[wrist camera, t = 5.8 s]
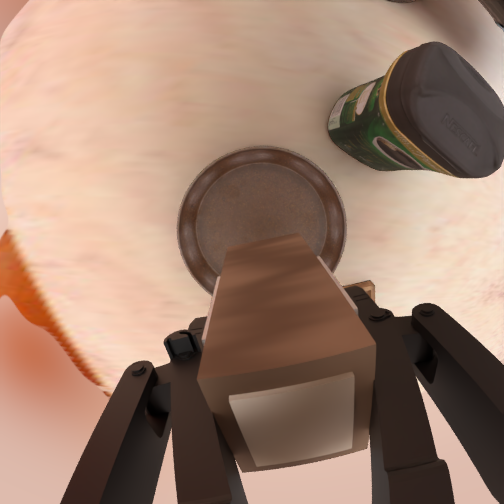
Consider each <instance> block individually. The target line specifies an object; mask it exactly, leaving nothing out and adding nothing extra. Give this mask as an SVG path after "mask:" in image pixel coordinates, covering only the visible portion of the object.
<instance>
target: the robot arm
mask: <svg viewBox="0 0 504 504" xmlns="http://www.w3.org/2000/svg"><path fill="white" fill-rule="evenodd" d="M389 1H394V2H402V3H406V2H412V1H415V0H389ZM479 1H480V3H481V4H482V5H483V6H484V7H485V9H486V10H487V11H488V12H489V14H490V15H491V16H492V17H493V19H494V21H495V23H496V24H497V25H498V26H499V27H500V28H501V29H502V30H503V31H504V0H479ZM317 258H318V259H319V261H320V262H321V264H322V265H323V266H324V268H325V269H326V271H327V272H328V273H329V275H330V276H331V278H332V279H333V281H334V282H335V283H336V285H337V286H338V288H339V289H340V291H341V292H342V293H343V295H344V296H345V298H346V299H347V301H348V302H349V304H350V305H351V307H352V308H353V309H354V311H355V312H356V314H357V315H358V317H359V318H360V320H361V321H362V323H363V324H364V326H365V327H366V329H367V330H368V332H369V333H370V335H371V336H372V338H373V339H374V341H375V343H376V365H375V380H374V382H373V395H372V407H371V417H370V426H369V435H370V448H371V470H372V504H455V502H454V496H453V491H452V484H451V479H450V474H449V469H448V466H447V463H446V462H445V461H444V460H442V459H439V458H438V457H437V454H436V449H435V445H434V440H433V436H432V432H431V428H430V424H429V420H428V417H427V413H426V409H425V406H424V402H423V399H422V395H421V392H420V388H419V385H418V382H417V379H416V377H417V378H418V380H419V381H420V383H421V384H422V385H423V387H424V388H425V390H426V391H427V392H428V394H429V395H430V397H431V398H432V400H433V401H434V403H435V404H436V406H437V407H438V409H439V410H440V412H441V413H442V415H443V416H444V418H445V419H446V421H447V422H448V424H449V425H450V427H451V428H452V430H453V432H454V433H455V435H456V436H457V438H458V439H459V441H460V443H461V444H462V446H463V447H464V449H465V451H466V452H467V454H468V456H469V457H470V459H471V460H472V462H473V464H474V465H475V467H476V469H477V470H478V472H479V474H480V476H481V477H482V479H483V481H484V483H485V484H486V486H487V487H488V489H489V491H490V492H491V494H492V495H493V496H494V498H495V499H496V500H497V501H498V502H499V503H500V504H504V365H503V364H502V363H501V362H500V361H499V360H498V359H497V358H496V357H495V356H494V355H493V354H492V353H491V352H490V351H489V350H488V349H486V348H485V347H484V346H483V345H482V344H481V343H480V342H479V341H478V340H477V339H476V338H475V337H473V336H472V335H471V334H470V333H469V332H468V331H467V330H466V329H465V328H463V327H462V326H461V325H460V324H459V323H458V322H457V321H455V320H454V319H453V318H452V317H451V316H450V315H448V314H447V313H446V312H445V311H444V310H443V309H441V308H440V307H439V306H437V305H435V304H431V303H423V304H419V305H417V306H415V307H414V308H413V309H412V316H404V317H394V315H393V313H392V312H391V311H389V310H387V309H383V308H379V307H378V306H377V305H376V303H375V302H374V301H373V300H372V299H371V298H370V296H369V295H368V294H367V293H366V292H365V290H364V289H363V288H361V287H358V286H356V285H354V286H350V287H346V288H343V287H342V286H341V284H340V283H339V282H338V280H337V279H336V277H335V276H334V275H333V273H332V272H331V271H330V269H329V268H328V267H327V265H326V264H325V263H324V261H323V260H322V259H321V257H320V256H317ZM219 280H220V276H219V277H217V281H216V285H215V289H214V292H213V296H212V300H211V304H210V308H209V312H208V316H207V317H200V318H195V319H194V320H193V321H192V323H191V324H190V325H189V328H188V330H179V331H176V332H174V333H172V334H170V335H168V336H167V337H166V338H165V340H164V345H165V347H166V350H167V352H168V354H169V357H170V359H171V361H170V363H168V364H166V365H163V366H159V367H156V368H154V366H153V364H152V363H151V362H149V361H138V362H136V363H133V364H132V365H130V366H129V367H128V368H127V369H126V370H125V372H124V374H123V375H122V377H121V379H120V381H119V383H118V385H117V387H116V389H115V390H114V392H113V394H112V396H111V398H110V400H109V402H108V404H107V406H106V408H105V410H104V411H103V413H102V416H101V417H100V419H99V421H98V423H97V425H96V428H95V429H94V431H93V433H92V435H91V438H90V439H89V442H88V444H87V446H86V448H85V450H84V452H83V454H82V456H81V458H80V461H79V462H78V465H77V467H76V469H75V471H74V473H73V476H72V478H71V480H70V482H69V485H68V487H67V489H66V492H65V494H64V496H63V498H62V501H61V503H60V504H152V503H153V499H154V495H155V490H156V486H157V482H158V478H159V474H160V470H161V466H162V462H163V458H164V454H165V450H166V447H167V442H168V439H169V435H170V431H171V428H172V442H173V457H174V470H175V481H176V491H177V500H178V504H248V502H247V499H246V495H245V492H244V489H243V485H242V482H241V479H240V475H239V472H238V468H237V465H236V461H235V457H234V455H233V453H232V451H231V449H230V447H229V445H228V443H227V441H226V439H225V437H224V435H223V433H222V431H221V429H220V427H219V425H218V423H217V421H216V419H215V417H214V414H213V412H211V410H210V408H209V406H208V404H207V401H206V399H205V397H204V395H203V393H202V390H201V388H200V386H199V383H198V381H197V376H198V371H199V367H200V362H201V358H202V353H203V349H204V344H205V340H206V335H207V331H208V327H209V322H210V318H211V314H212V309H213V305H214V301H215V297H216V293H217V288H218V284H219Z"/></svg>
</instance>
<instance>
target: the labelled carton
mask: <svg viewBox="0 0 504 504" xmlns="http://www.w3.org/2000/svg"><path fill="white" fill-rule="evenodd" d="M375 365H376V343H375V341H374V339H373V338H372V336H371V335H370V333H369V332H368V330H367V329H366V327H365V326H364V324H363V323H362V321H361V320H360V318H359V317H358V315H357V314H356V312H355V311H354V309H353V308H352V307H351V305H350V304H349V302H348V301H347V299H346V298H345V296H344V295H343V293H342V292H341V291H340V289H339V288H338V286H337V285H336V283H335V282H334V281H333V279H332V278H331V276H330V275H329V273H328V272H327V271H326V269H325V268H324V266H323V265H322V264H321V262H320V261H319V259H318V258H317V257H316V255H315V254H314V253H313V251H312V250H311V248H310V247H309V246H308V244H307V243H306V242H305V240H304V239H303V237H302V236H301V235H300V233H294V234H289V235H284V236H279V237H274V238H269V239H264V240H259V241H254V242H249V243H245V244H240V245H235V246H230V247H227V251H226V255H225V260H224V264H223V268H222V272H221V276H220V280H219V284H218V288H217V293H216V297H215V301H214V305H213V309H212V314H211V318H210V322H209V327H208V331H207V335H206V340H205V344H204V349H203V353H202V358H201V362H200V367H199V371H198V376H197V381H198V383H199V386H200V388H201V390H202V393H203V395H204V397H205V399H206V401H207V404H208V406H209V408H210V410H211V412H213V414H214V417H215V419H216V421H217V423H218V425H219V427H220V429H221V431H222V433H223V435H224V437H225V439H226V441H227V443H228V445H229V447H230V449H231V451H232V453H233V455H234V457H235V460H236V461H237V463H238V465H239V467H240V469H241V471H242V472H253V471H263V470H271V469H279V468H285V467H291V466H297V465H302V464H308V463H313V462H318V461H322V460H326V459H331V458H335V457H339V456H343V455H346V454H350V453H354V452H357V451H360V450H364V449H367V446H368V440H369V426H370V417H371V407H372V395H373V382H374V380H375Z"/></svg>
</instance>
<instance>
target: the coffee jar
mask: <svg viewBox="0 0 504 504" xmlns="http://www.w3.org/2000/svg"><path fill="white" fill-rule="evenodd" d="M328 131H329V134H330V137H331V139H332V140H333V142H334V143H335V144H336V145H337V146H339V147H340V148H341V149H342V150H344V151H345V152H346V153H348V154H349V155H351V156H352V157H354V158H355V159H357V160H358V161H360V162H362V163H363V164H365V165H367V166H369V167H371V168H374V169H376V170H379V171H397V170H429V171H435V172H439V173H443V174H446V175H450V176H453V177H457V178H483V177H487V176H489V175H491V174H492V173H494V172H495V171H496V170H498V169H499V168H500V167H501V164H502V162H503V159H504V106H503V104H502V102H501V100H500V99H499V97H498V95H497V94H496V93H495V91H494V90H493V89H492V88H491V86H490V85H489V84H488V83H487V82H486V81H485V79H484V78H483V77H482V76H481V75H480V74H479V73H478V72H477V71H476V70H475V69H474V68H473V67H472V66H471V65H470V64H469V63H468V62H467V61H466V60H465V59H463V58H462V57H461V56H460V55H459V54H458V53H457V52H456V51H454V50H453V49H452V48H450V47H448V46H447V45H445V44H443V43H440V42H429V43H425V44H422V45H420V46H419V47H416V48H414V49H411V50H408V51H405V52H404V53H402V54H401V55H400V56H399V57H398V58H397V59H396V60H395V61H394V62H393V63H392V65H391V66H390V68H389V69H388V71H387V73H386V75H385V76H383V77H380V78H378V79H376V80H374V81H371V82H368V83H366V84H363V85H360V86H358V87H355V88H353V89H351V90H349V91H348V92H346V93H345V94H343V95H342V96H341V97H340V99H339V100H338V102H337V103H336V105H335V106H334V108H333V110H332V113H331V115H330V118H329V122H328Z"/></svg>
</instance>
